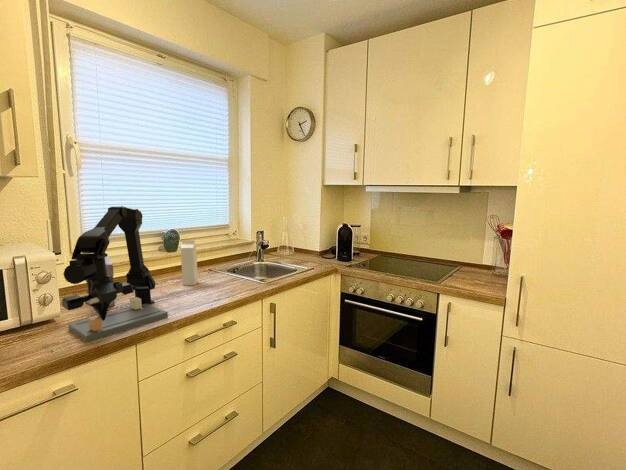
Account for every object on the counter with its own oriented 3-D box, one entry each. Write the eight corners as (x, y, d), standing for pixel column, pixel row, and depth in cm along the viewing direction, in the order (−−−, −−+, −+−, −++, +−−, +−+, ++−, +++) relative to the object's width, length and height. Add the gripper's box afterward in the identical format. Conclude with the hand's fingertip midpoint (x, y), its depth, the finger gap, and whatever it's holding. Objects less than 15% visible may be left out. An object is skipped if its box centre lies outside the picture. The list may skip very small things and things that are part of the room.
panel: (68, 329, 111) (68, 323, 111) (146, 308, 131) (146, 303, 131) (86, 342, 101) (85, 335, 101) (167, 317, 122) (167, 311, 121)
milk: (194, 285, 165) (192, 241, 162) (182, 285, 164) (180, 241, 161) (197, 281, 171) (196, 239, 168) (185, 282, 170) (183, 239, 167)
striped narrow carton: (116, 306, 134) (113, 263, 132) (101, 309, 131) (98, 265, 129) (112, 294, 149) (109, 256, 147) (99, 296, 146) (95, 257, 144)
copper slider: (89, 328, 106) (88, 317, 106) (97, 325, 108) (96, 315, 107) (93, 331, 104) (93, 320, 103) (102, 328, 105) (101, 318, 105)
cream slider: (130, 307, 125) (129, 298, 125) (136, 305, 127) (136, 296, 127) (135, 309, 123) (134, 300, 123) (141, 307, 125) (141, 298, 124)
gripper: (70, 286, 93) (79, 338, 95) (138, 270, 107) (144, 316, 110) (57, 280, 99) (65, 328, 102) (123, 265, 114) (128, 308, 116)
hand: (103, 320), depth 107 cm, fingers closed
